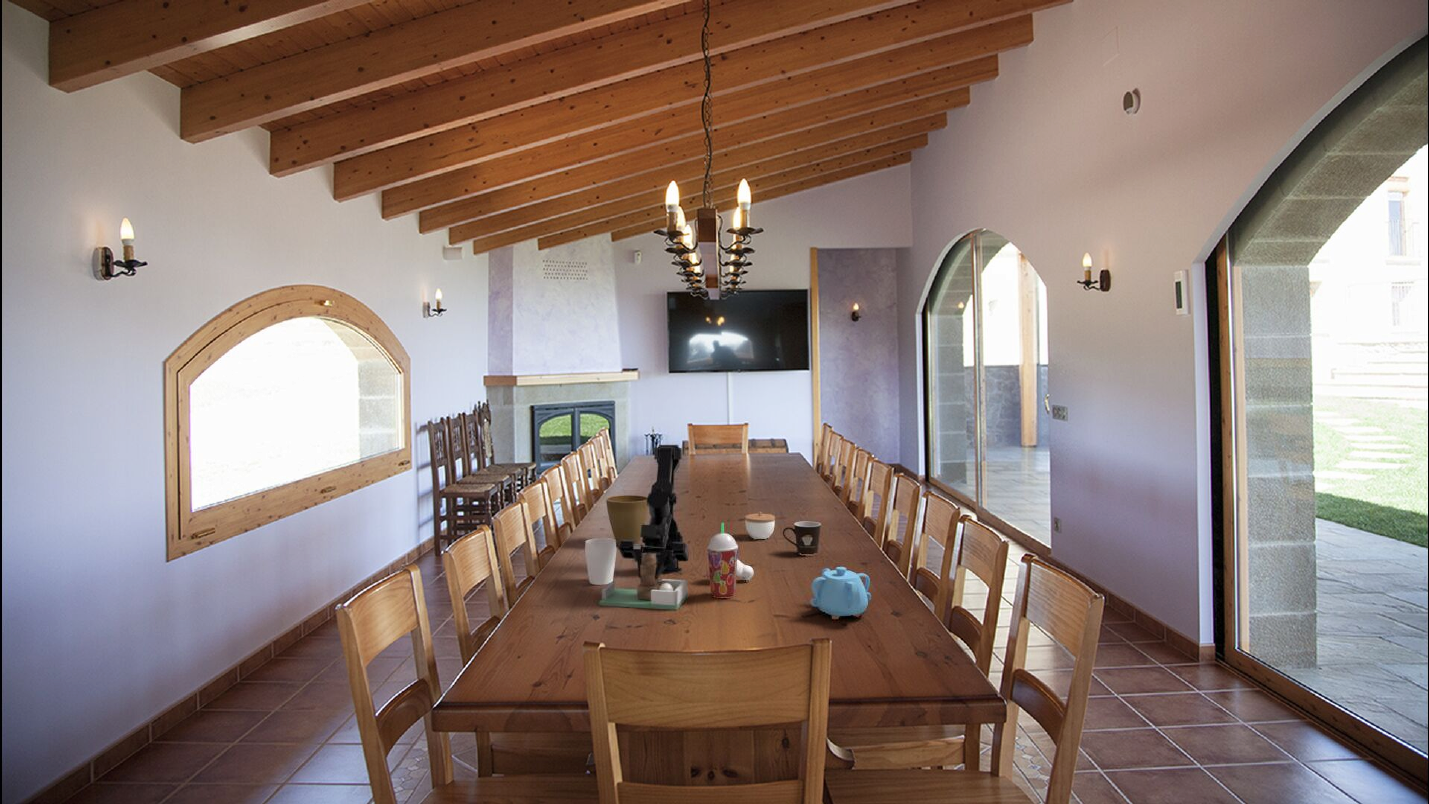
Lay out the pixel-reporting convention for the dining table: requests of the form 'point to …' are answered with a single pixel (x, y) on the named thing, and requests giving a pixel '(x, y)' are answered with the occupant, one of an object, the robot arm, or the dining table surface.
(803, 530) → the coffee mug
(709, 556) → the smoothie
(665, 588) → the ball
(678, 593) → the pitch
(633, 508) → the plant pot
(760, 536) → the lidded jar
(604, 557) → the cup
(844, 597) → the teapot
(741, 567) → the penguin figurine
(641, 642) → the dining table surface
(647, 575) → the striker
